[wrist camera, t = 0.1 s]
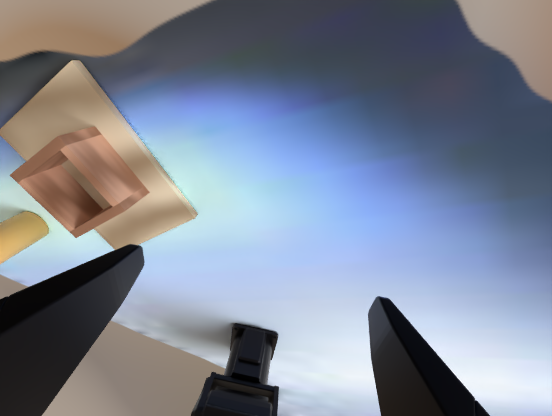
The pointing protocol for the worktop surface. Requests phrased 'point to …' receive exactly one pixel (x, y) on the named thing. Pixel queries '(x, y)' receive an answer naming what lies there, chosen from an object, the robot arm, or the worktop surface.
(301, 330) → the worktop surface
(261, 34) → the worktop surface
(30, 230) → the orange tapered piece
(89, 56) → the worktop surface
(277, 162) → the worktop surface
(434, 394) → the robot arm
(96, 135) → the beige board with box
